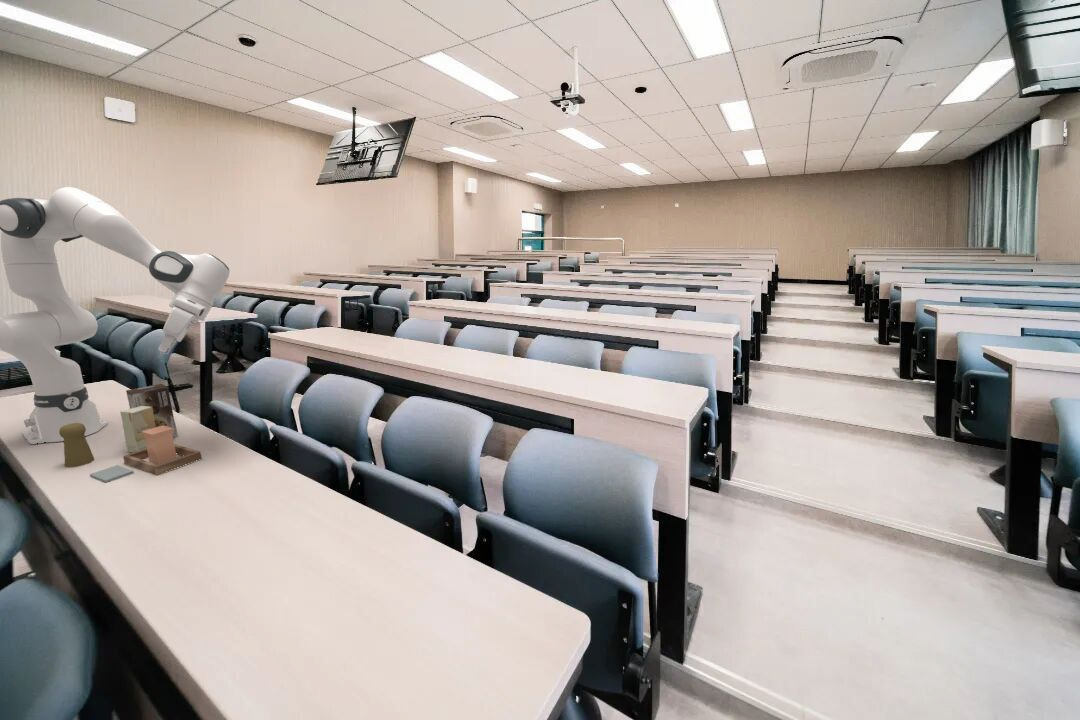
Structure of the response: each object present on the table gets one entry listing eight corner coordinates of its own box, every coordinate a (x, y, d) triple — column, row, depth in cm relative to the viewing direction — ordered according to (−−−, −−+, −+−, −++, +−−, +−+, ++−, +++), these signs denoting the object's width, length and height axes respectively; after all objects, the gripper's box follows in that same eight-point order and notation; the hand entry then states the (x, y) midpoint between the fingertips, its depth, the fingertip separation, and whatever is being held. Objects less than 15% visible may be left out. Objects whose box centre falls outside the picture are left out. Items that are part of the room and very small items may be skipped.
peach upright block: (147, 463, 135) (141, 431, 133) (168, 456, 140) (162, 425, 138) (158, 466, 133) (152, 434, 131) (179, 459, 138) (173, 428, 136)
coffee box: (171, 431, 158) (162, 383, 154) (178, 436, 154) (169, 386, 151) (135, 440, 151) (125, 389, 148) (141, 445, 147) (131, 393, 144)
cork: (63, 462, 136) (54, 424, 133) (93, 455, 140) (84, 419, 138) (65, 469, 132) (56, 430, 129) (95, 462, 136) (87, 424, 134)
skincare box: (139, 453, 141) (130, 413, 139) (127, 452, 142) (118, 412, 140) (160, 445, 148) (153, 406, 145) (148, 443, 149) (141, 404, 146)
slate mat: (90, 476, 128) (89, 474, 128) (117, 467, 133) (117, 465, 133) (106, 482, 124) (105, 480, 124) (133, 473, 129) (133, 470, 129)
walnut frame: (124, 463, 135) (123, 456, 135) (168, 449, 145) (167, 441, 144) (157, 475, 128) (155, 467, 128) (201, 459, 138) (200, 451, 137)
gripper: (178, 307, 146) (152, 349, 142) (175, 297, 129) (145, 344, 125) (201, 317, 149) (177, 359, 145) (201, 309, 132) (173, 355, 128)
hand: (162, 352), depth 135 cm, fingers open, 8 cm apart
